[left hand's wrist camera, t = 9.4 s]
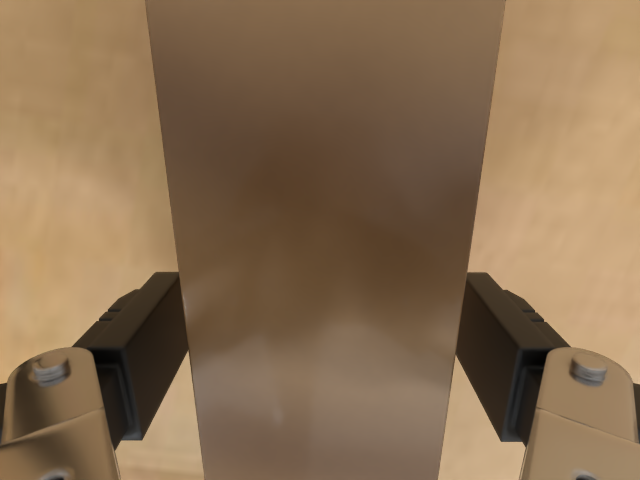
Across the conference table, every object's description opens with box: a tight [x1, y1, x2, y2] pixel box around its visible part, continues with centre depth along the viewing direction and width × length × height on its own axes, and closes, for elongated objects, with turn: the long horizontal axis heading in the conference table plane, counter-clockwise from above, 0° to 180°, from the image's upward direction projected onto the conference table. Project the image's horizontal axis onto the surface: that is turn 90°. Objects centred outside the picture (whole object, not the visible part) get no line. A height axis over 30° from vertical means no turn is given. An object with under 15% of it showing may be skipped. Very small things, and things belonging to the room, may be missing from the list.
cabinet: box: [145, 0, 506, 480], centre depth 11 cm, size 19×6×9 cm, turn 0°
